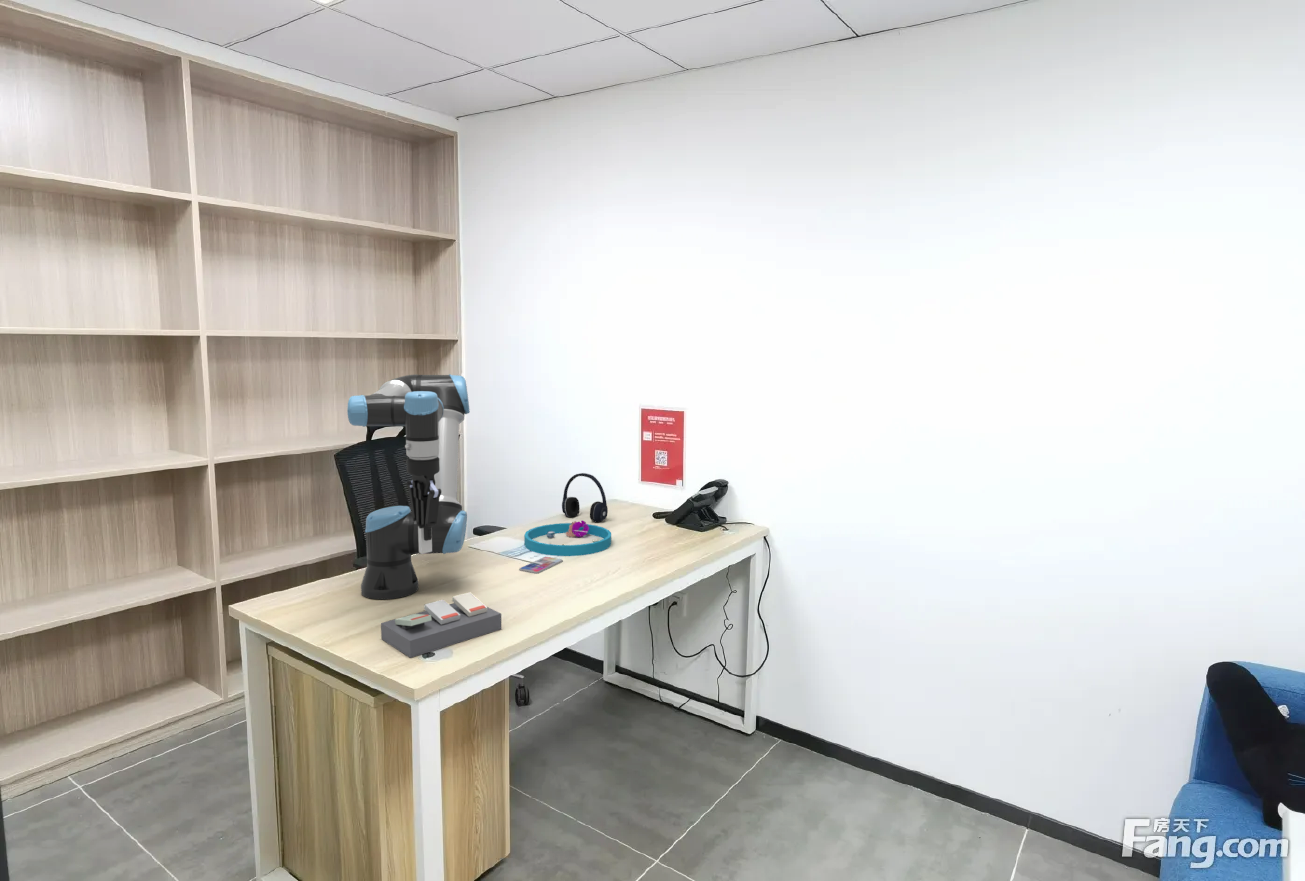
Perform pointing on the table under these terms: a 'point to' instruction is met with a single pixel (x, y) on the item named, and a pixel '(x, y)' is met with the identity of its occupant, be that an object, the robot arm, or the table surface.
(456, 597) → the cream rocker
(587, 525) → the teal round tray
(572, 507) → the headphones
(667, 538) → the table surface
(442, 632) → the rocker switch panel
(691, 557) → the table surface
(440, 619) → the grey rocker
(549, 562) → the smartphone
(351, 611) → the table surface
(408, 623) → the sage rocker
